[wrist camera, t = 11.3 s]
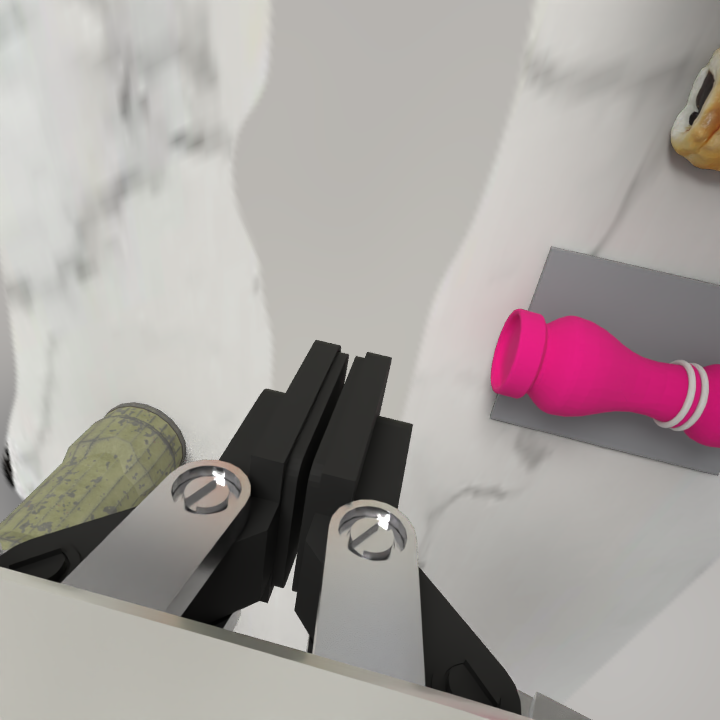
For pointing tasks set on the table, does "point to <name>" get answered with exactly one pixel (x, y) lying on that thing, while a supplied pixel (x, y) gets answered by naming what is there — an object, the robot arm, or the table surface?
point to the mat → (638, 333)
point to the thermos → (101, 473)
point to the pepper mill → (602, 376)
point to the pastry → (701, 120)
